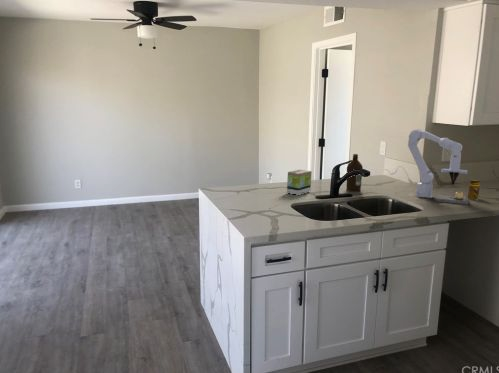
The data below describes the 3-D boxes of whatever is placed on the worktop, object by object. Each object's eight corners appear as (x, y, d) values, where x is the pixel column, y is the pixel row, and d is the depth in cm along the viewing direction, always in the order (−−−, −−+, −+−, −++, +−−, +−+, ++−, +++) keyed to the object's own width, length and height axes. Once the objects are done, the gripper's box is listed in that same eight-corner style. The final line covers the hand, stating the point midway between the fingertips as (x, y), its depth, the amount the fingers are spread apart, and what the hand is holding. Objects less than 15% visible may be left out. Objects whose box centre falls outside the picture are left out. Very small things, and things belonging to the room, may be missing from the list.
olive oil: (342, 190, 292) (344, 154, 286) (351, 188, 299) (353, 152, 294) (355, 192, 284) (358, 155, 279) (364, 190, 291) (366, 154, 286)
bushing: (454, 202, 260) (455, 192, 259) (454, 200, 264) (455, 191, 262) (462, 203, 258) (463, 193, 257) (462, 201, 262) (463, 192, 260)
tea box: (299, 196, 273) (300, 173, 270) (286, 193, 279) (286, 171, 276) (311, 192, 285) (311, 170, 282) (298, 190, 291) (298, 168, 288)
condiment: (478, 200, 265) (480, 181, 262) (463, 198, 269) (465, 180, 266) (478, 198, 271) (481, 179, 269) (464, 196, 275) (466, 178, 273)
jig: (435, 201, 261) (436, 198, 260) (435, 197, 271) (435, 194, 270) (468, 204, 254) (468, 201, 254) (466, 200, 264) (467, 197, 264)
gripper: (442, 162, 261) (440, 184, 264) (468, 164, 255) (466, 186, 258) (442, 161, 267) (440, 182, 270) (467, 162, 262) (465, 184, 264)
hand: (452, 184), depth 264 cm, fingers closed
